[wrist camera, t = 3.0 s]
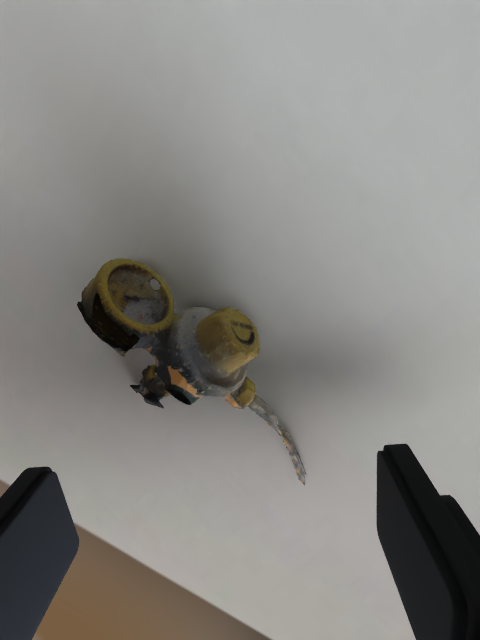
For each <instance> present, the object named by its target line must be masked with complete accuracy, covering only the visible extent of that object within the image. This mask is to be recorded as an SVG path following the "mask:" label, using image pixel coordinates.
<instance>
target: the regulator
mask: <svg viewBox="0 0 480 640" xmlns="http://www.w3.org/2000/svg"><path fill="white" fill-rule="evenodd" d="M153 278H154V279H156V280H158V282H159V283H160V285H161V286H160V290H159V291H158V290H154V289H153V288H152V287H151V285H150V280H151V279H153ZM77 306H78V308H79V310H80V312H81V314H82V316H83V318H84V320H85V322H86V323H87V324H88V325H89V327H90V328H91V330H92V331H93V332H94V333H95V334H96V335H97V336H98V337H99V338H100V339H101V340H102V341H104V342H106V343H107V344H109V345H110V346H111V347H112V348H114V349H115V350H116V351H117V352H118V353H119V354H120V355H121V356H124V355H125V353H126V352H127V351H128V350H129V349H133V348H144V349H146V350H148V351H149V352H150V354H151V355H152V356H153V357H154V358H155V360H156V364H155V365H151V366H149V365H148V367H147V368H146V369H144V370H143V372H142V374H143V378H142V380H141V381H140V385H130V387H132V388H133V389H134V391H136V393H137V392H138V393H140V394H141V395H142V396H143V397H144V401H145V402H146V403H148V404H151V405H155V406H158V407H161V408H164V407H163V405H162V404H161V403H160V402H159V400H160V399H162V398H164V397H166V396H168V395H170V394H171V395H172V396H174V397H175V398H176V399H177V400H179V401H181V402H183V403H185V404H187V405H191V404H192V403H194V402H195V401H196V400H197V399H199V398H200V397H205V396H223V395H225V397H226V401H227V402H228V403H229V404H231V405H232V406H233V407H235V408H239V409H244V407H246V406H248V407H249V408H250V409H251V410H252V411H254V412H256V414H258V415H259V416H260V417H261V418H263V419H264V420H265V421H266V422H267V423H268V424H269V425H271V426H273V427H274V429H275V430H276V431H277V432H278V434H279V435H280V436H281V437H282V439H283V442H284V443H285V445H286V448H287V449H288V450H289V453H290V455H291V456H292V461H293V463H294V468H295V470H296V473H297V475H298V477H299V480H300V481H301V482H302V483H303V484H304V485H305V479H306V473H305V471H304V469H303V465H302V463H301V461H300V457H299V454H298V453H296V452H295V449H294V447H293V443H292V441H291V439H290V436H289V434H288V433H287V432H286V431H285V430H283V429H282V427H281V426H280V425H278V423H277V422H278V417H277V415H276V414H275V413H274V412H273V410H272V409H271V408H270V407H269V406H268V405H267V403H266V402H265V401H263V400H262V399H261V398H259V397H258V396H257V395H256V394H255V393H256V389H255V385H254V383H253V382H252V381H251V380H250V379H249V378H248V377H245V376H246V373H247V362H248V361H250V360H251V359H253V358H255V357H256V356H257V355H258V353H259V338H258V333H257V330H256V327H255V326H254V325H253V324H252V322H251V321H250V320H249V319H248V317H247V316H246V315H244V314H242V313H241V312H240V311H239V310H237V309H233V308H230V307H227V308H223V309H220V310H218V311H215V310H212V309H208V308H206V307H192V308H190V309H187V310H185V311H183V312H181V313H179V314H174V301H173V298H172V294H171V292H170V290H169V287H168V286H167V284H166V283H165V282H164V281H163V279H162V278H161V277H160V276H159V275H158V274H156V273H155V272H154V271H153V270H151V269H150V268H149V267H148V266H146V265H144V264H142V263H140V262H137V261H134V260H130V259H115V260H111V261H109V262H107V263H106V264H104V265H103V266H102V267H101V269H100V270H99V271H98V273H97V275H96V277H95V278H93V279H92V280H91V281H90V283H89V284H88V286H87V287H86V288H84V290H83V292H82V301H81V302H78V304H77Z"/></svg>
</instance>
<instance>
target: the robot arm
mask: <svg viewBox="0 0 480 640" xmlns="http://www.w3.org/2000/svg"><path fill="white" fill-rule="evenodd" d="M377 531H378V536H379V539H380V542H381V545H382V548H383V551H384V553H385V556H386V559H387V561H388V564H389V567H390V570H391V572H392V575H393V578H394V581H395V583H396V586H397V589H398V592H399V594H400V597H401V600H402V602H403V605H404V608H405V611H406V613H407V616H408V619H409V622H410V624H411V627H412V630H413V633H414V635H415V638H416V640H480V535H479V534H478V532H477V531H476V529H475V528H474V526H473V525H472V523H471V522H470V520H469V519H468V517H467V516H466V514H465V513H464V511H463V510H462V509H461V507H460V506H459V504H458V503H457V502H456V500H455V499H454V498H453V497H451V496H450V495H439V493H438V492H437V490H436V489H435V487H434V485H433V484H432V482H431V481H430V479H429V478H428V476H427V474H426V473H425V471H424V470H423V468H422V466H421V465H420V463H419V462H418V460H417V458H416V457H415V455H414V454H413V452H412V451H411V449H410V447H409V446H408V445H407V444H395V445H385V446H384V450H383V451H378V453H377ZM78 547H79V538H78V535H77V532H76V529H75V526H74V523H73V520H72V517H71V514H70V511H69V509H68V506H67V503H66V500H65V497H64V494H63V491H62V488H61V485H60V482H59V480H58V477H57V474H56V473H55V472H52V470H51V468H49V467H34V468H27V469H26V470H24V471H23V472H22V473H21V475H20V476H19V477H18V478H17V479H16V480H15V481H14V483H13V484H12V485H11V486H10V487H9V488H8V489H7V491H6V492H5V493H4V494H3V495H2V496H1V498H0V640H32V638H33V636H34V634H35V632H36V630H37V628H38V626H39V624H40V622H41V620H42V619H43V616H44V615H45V613H46V611H47V609H48V607H49V605H50V603H51V601H52V599H53V597H54V596H55V594H56V592H57V590H58V588H59V586H60V584H61V582H62V580H63V578H64V576H65V574H66V572H67V571H68V569H69V567H70V565H71V563H72V561H73V559H74V557H75V555H76V553H77V551H78Z"/></svg>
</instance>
